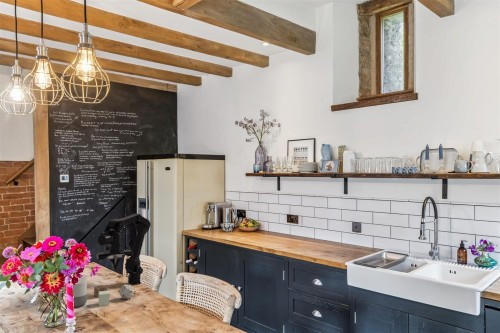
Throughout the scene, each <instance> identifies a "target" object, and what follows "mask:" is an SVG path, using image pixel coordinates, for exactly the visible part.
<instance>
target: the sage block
mask: <svg viewBox="0 0 500 333" xmlns="http://www.w3.org/2000/svg"><path fill="white" fill-rule="evenodd" d="M104 306H106V307H107V306H110V290H107V291H100V292H99V298H98V307H104Z"/></svg>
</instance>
